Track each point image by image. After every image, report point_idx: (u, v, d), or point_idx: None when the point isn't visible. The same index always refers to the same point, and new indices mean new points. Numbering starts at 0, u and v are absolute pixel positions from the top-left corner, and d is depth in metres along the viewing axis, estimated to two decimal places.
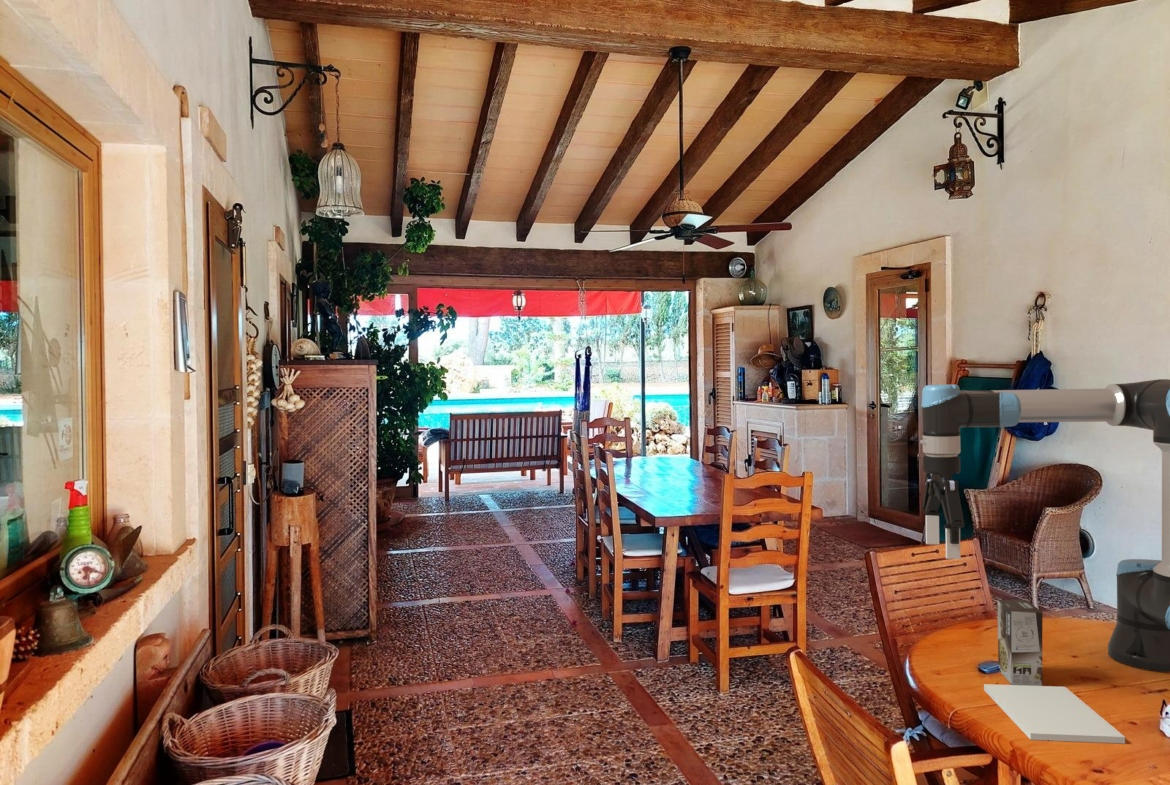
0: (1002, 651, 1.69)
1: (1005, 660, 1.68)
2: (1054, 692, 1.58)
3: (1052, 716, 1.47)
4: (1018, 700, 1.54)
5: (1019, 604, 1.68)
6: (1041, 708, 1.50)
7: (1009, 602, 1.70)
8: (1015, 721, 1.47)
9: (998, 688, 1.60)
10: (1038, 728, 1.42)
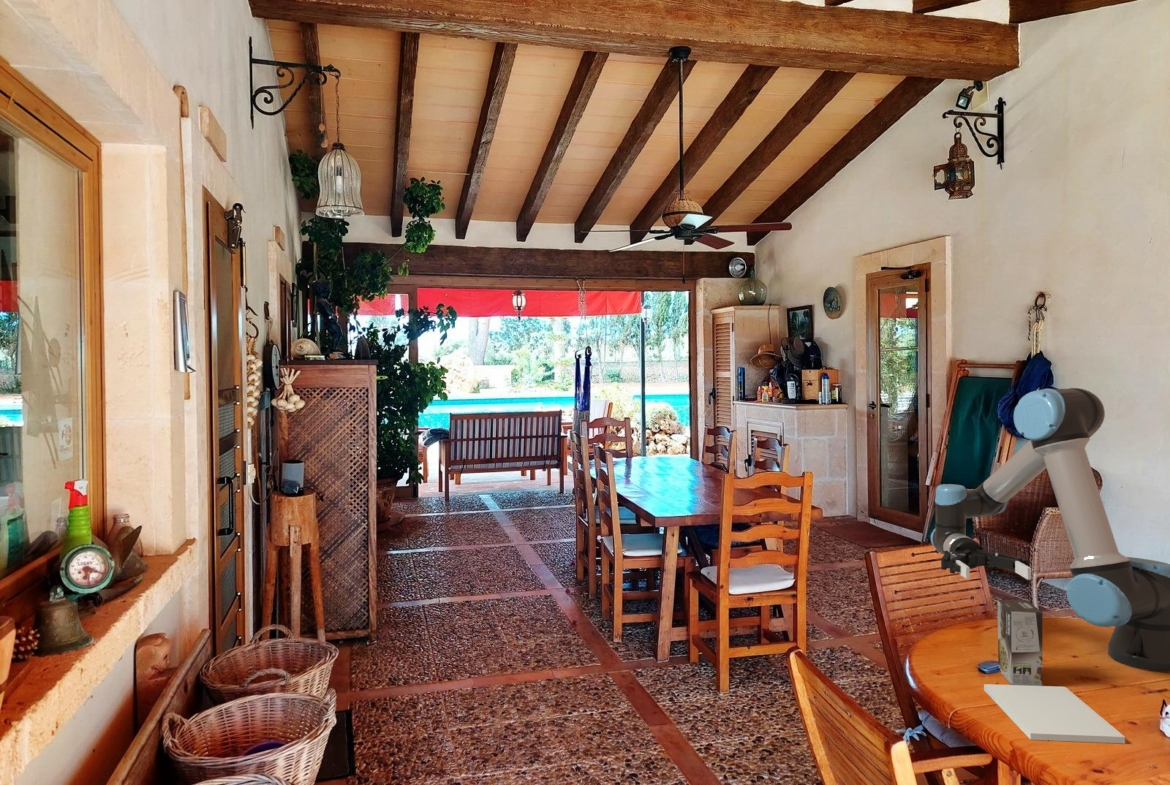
0: (1002, 651, 1.69)
1: (1005, 660, 1.68)
2: (1054, 692, 1.58)
3: (1052, 716, 1.47)
4: (1018, 700, 1.54)
5: (1019, 604, 1.68)
6: (1041, 708, 1.50)
7: (1009, 602, 1.70)
8: (1015, 721, 1.47)
9: (998, 688, 1.60)
10: (1038, 728, 1.42)
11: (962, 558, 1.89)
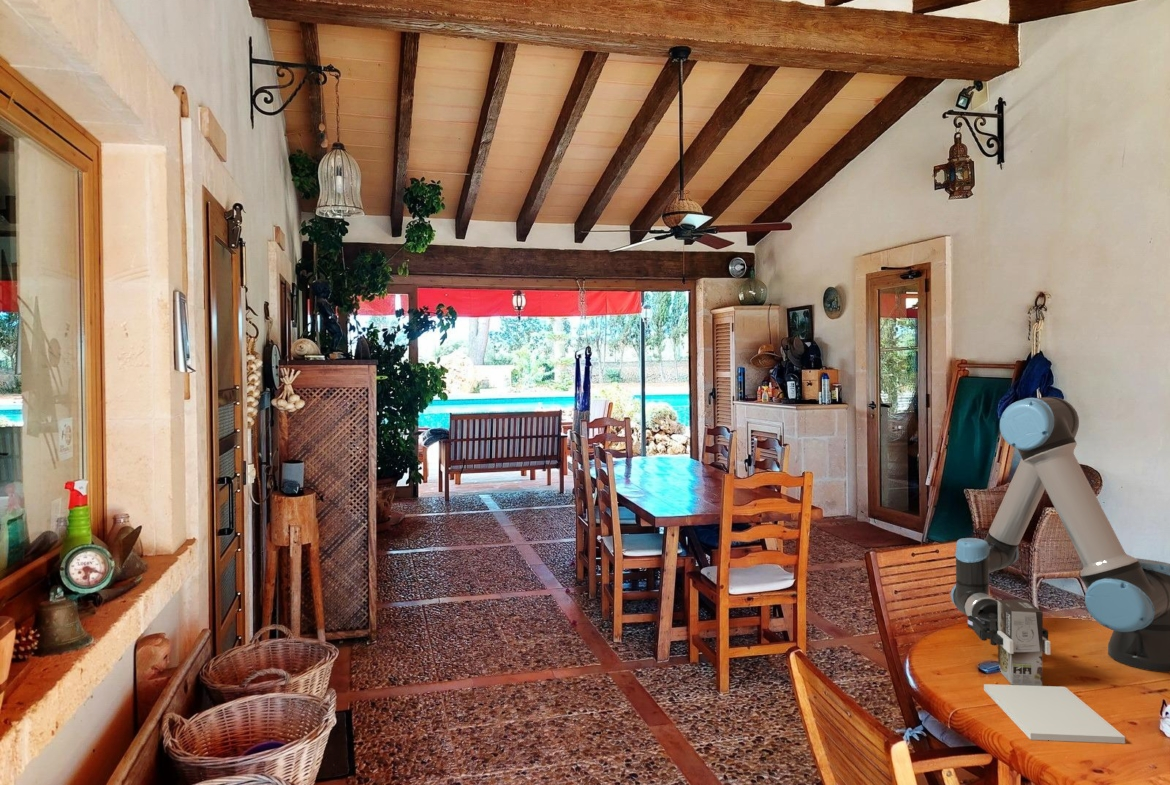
0: (1002, 651, 1.69)
1: (1005, 660, 1.68)
2: (1054, 692, 1.58)
3: (1052, 716, 1.47)
4: (1018, 700, 1.54)
5: (1019, 604, 1.68)
6: (1041, 708, 1.50)
7: (1009, 602, 1.70)
8: (1015, 721, 1.47)
9: (998, 688, 1.60)
10: (1038, 728, 1.42)
11: (995, 625, 1.74)
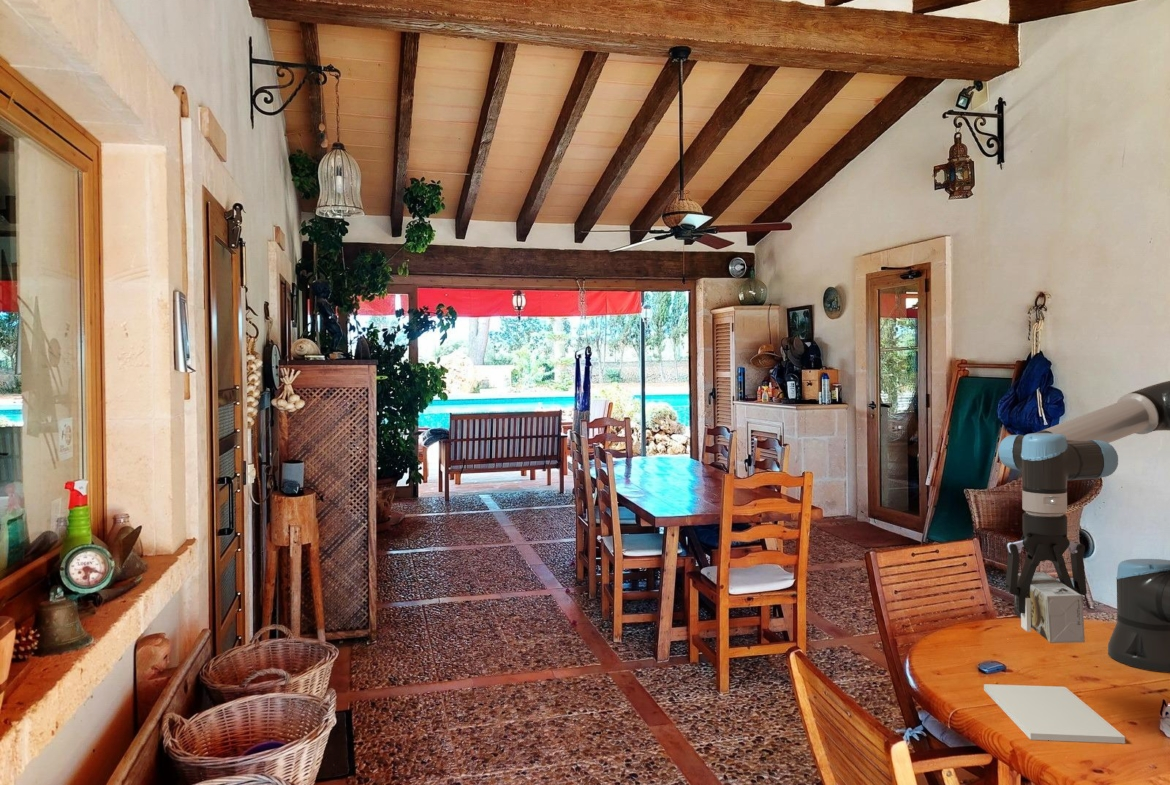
0: None
1: None
2: (1054, 692, 1.58)
3: (1052, 716, 1.47)
4: (1018, 700, 1.54)
5: None
6: (1041, 708, 1.50)
7: None
8: (1015, 721, 1.47)
9: (998, 688, 1.60)
10: (1038, 728, 1.42)
11: (1056, 571, 1.51)
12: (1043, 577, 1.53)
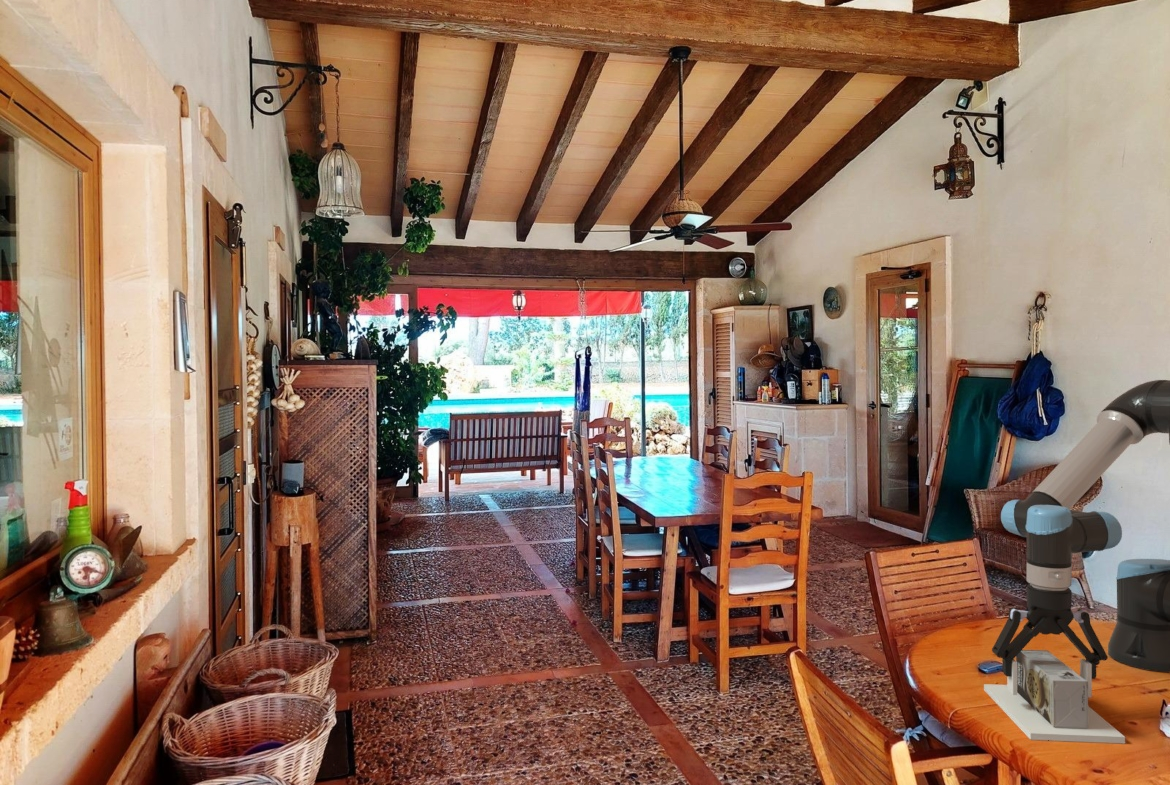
0: None
1: None
2: None
3: None
4: (1018, 700, 1.54)
5: None
6: None
7: None
8: (1015, 721, 1.47)
9: (998, 688, 1.60)
10: (1038, 728, 1.42)
11: None
12: (1047, 657, 1.53)
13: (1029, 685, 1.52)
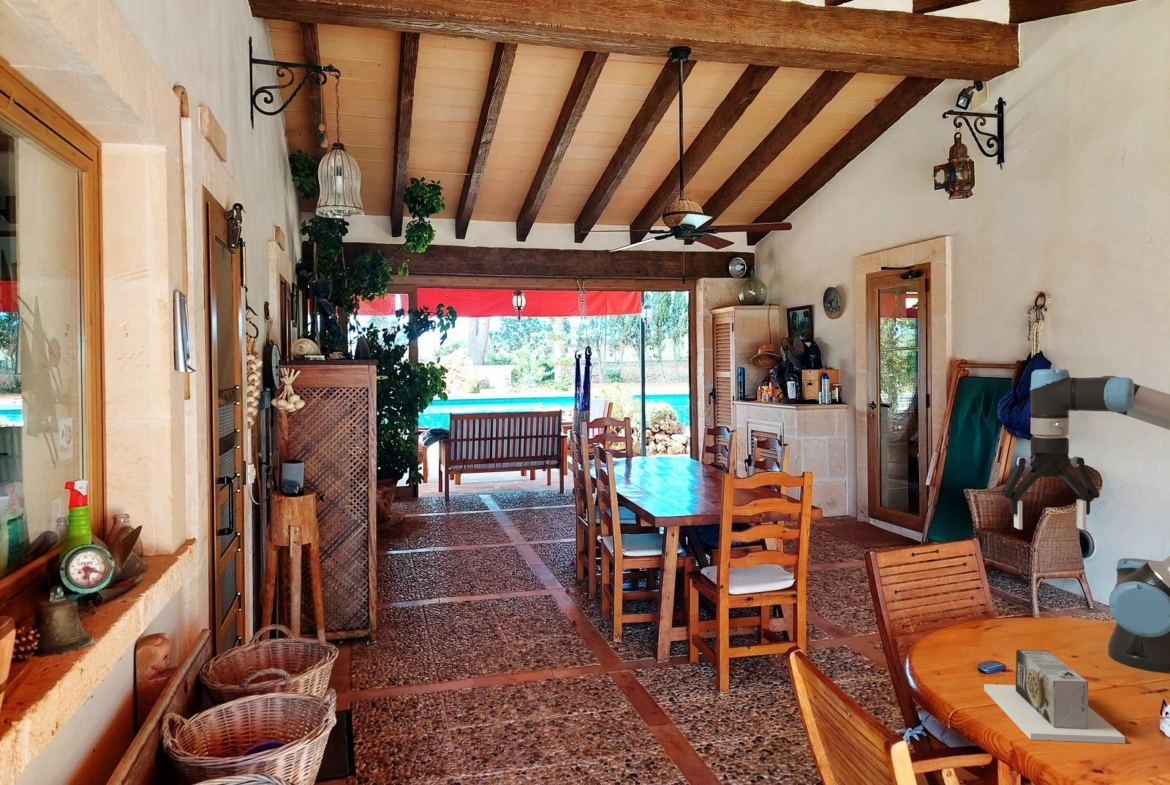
0: None
1: None
2: None
3: None
4: (1018, 700, 1.54)
5: None
6: None
7: None
8: (1015, 721, 1.47)
9: (998, 688, 1.60)
10: (1038, 728, 1.42)
11: (1067, 483, 1.77)
12: (1047, 657, 1.53)
13: (1029, 685, 1.52)
